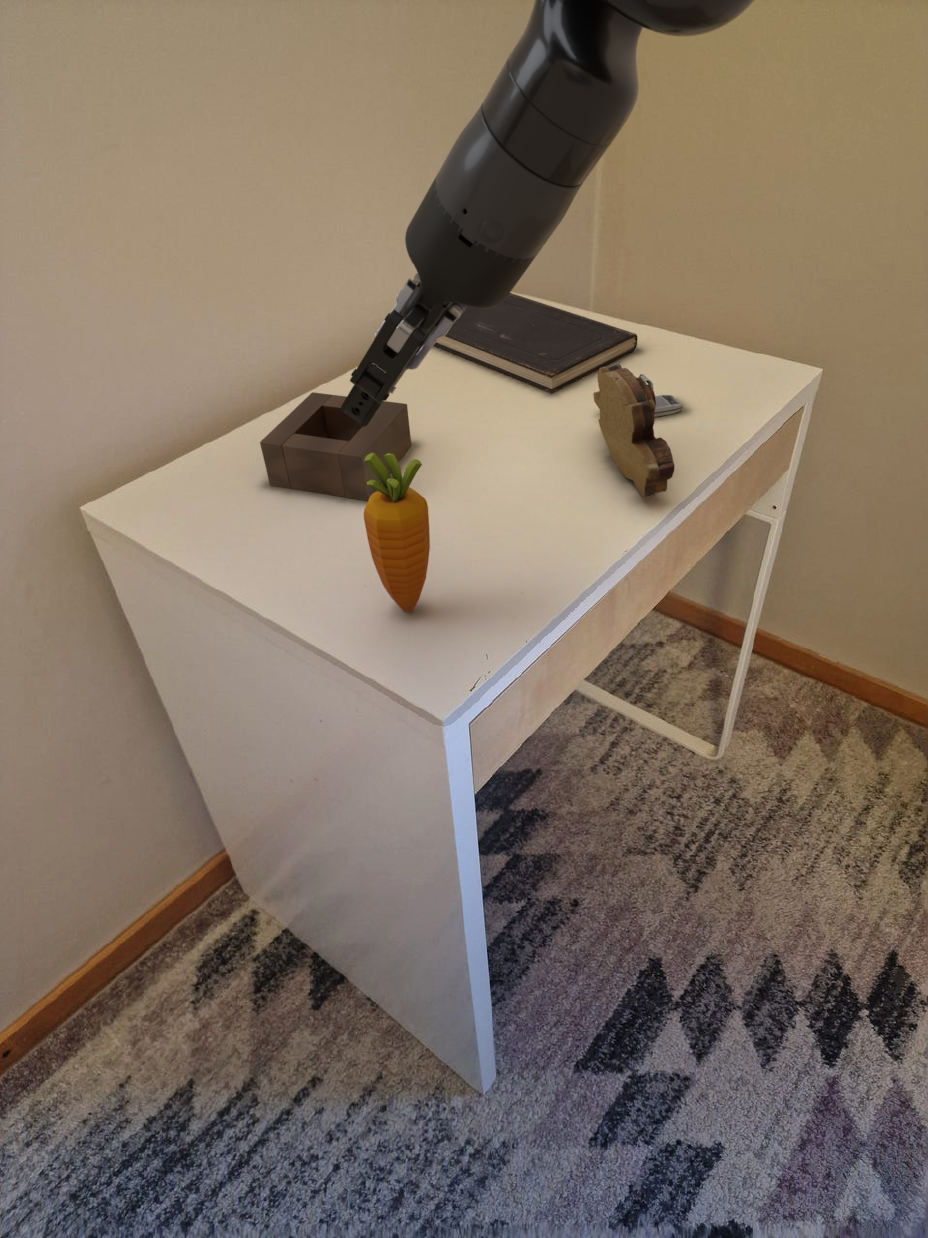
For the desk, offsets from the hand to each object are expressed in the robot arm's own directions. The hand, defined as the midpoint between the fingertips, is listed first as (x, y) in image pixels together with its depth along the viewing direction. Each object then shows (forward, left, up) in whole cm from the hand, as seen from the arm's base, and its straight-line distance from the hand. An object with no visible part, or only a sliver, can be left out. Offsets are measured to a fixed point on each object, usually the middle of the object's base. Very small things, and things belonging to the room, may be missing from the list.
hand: (378, 387), depth 63 cm
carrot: (+2, -4, -18) cm, 19 cm away
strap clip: (+14, +35, -18) cm, 42 cm away
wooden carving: (+15, +23, -18) cm, 33 cm away
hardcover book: (-4, +50, -18) cm, 53 cm away
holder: (-14, +16, -18) cm, 28 cm away
